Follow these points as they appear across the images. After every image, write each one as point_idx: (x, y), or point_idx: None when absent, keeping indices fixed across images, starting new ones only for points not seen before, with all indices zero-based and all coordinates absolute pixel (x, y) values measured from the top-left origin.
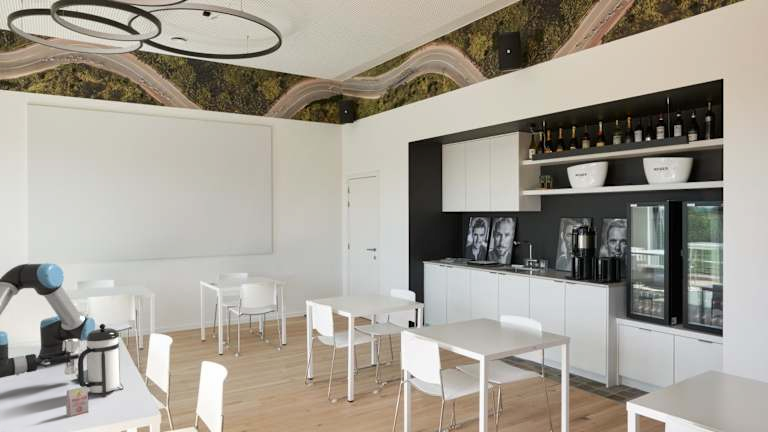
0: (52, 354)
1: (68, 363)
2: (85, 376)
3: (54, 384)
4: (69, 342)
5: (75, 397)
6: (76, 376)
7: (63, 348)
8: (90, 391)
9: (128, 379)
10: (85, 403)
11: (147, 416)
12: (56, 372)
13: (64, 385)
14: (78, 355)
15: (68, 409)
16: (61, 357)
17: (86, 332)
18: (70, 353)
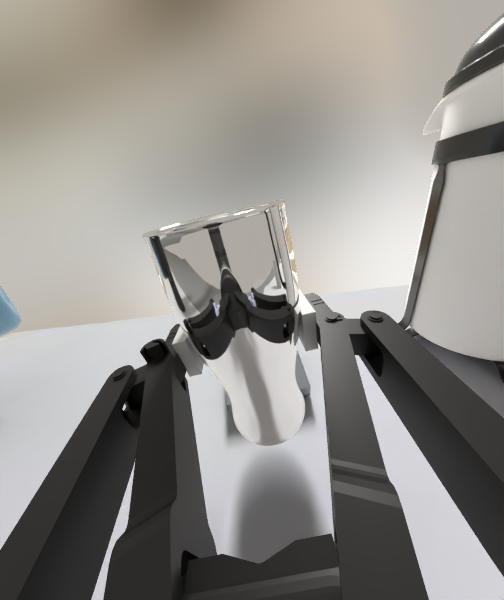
0: (137, 466)
1: (292, 378)
2: (297, 370)
3: (236, 548)
4: (281, 207)
5: None
6: (230, 407)
7: (248, 299)
8: (499, 365)
9: (332, 303)
10: None
11: None
12: (32, 497)
13: (298, 479)
14: (313, 295)
15: None
16: (397, 362)
17: (3, 298)
18: (299, 307)
